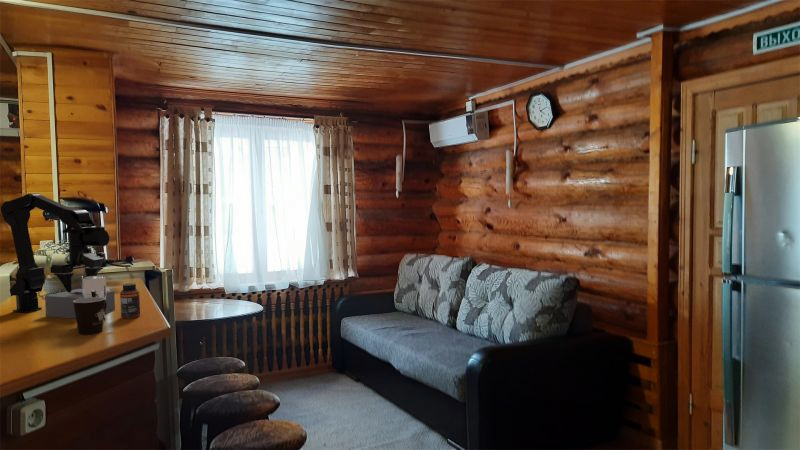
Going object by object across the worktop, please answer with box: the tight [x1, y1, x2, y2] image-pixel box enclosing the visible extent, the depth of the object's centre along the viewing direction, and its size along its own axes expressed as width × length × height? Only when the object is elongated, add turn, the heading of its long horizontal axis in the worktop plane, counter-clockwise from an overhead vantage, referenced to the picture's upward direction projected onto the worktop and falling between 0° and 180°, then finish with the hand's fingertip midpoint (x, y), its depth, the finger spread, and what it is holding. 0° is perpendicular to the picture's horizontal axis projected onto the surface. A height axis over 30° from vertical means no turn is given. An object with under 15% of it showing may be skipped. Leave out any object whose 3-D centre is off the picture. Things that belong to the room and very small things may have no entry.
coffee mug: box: [73, 297, 107, 336], centre depth 176 cm, size 12×9×10 cm
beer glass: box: [81, 275, 107, 324], centre depth 186 cm, size 7×7×15 cm
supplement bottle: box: [119, 282, 141, 320], centre depth 195 cm, size 6×6×11 cm
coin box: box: [44, 288, 116, 319], centre depth 201 cm, size 16×14×7 cm
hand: (80, 290), depth 200 cm, fingers open, 9 cm apart
